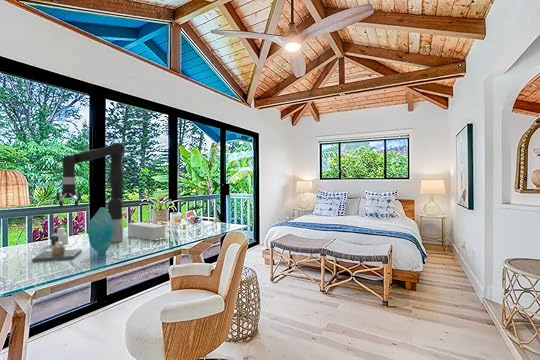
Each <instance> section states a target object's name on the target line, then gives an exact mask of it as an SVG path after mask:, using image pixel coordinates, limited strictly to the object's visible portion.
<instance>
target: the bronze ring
mask: <svg viewBox="0 0 540 360" xmlns="http://www.w3.org/2000/svg"><path fill="white" fill-rule="evenodd" d="M65 250H66V247H65V245H62V247H61V248H55V246H53V247H52V248H51V251H52V255H61V254H64V253H65Z"/></svg>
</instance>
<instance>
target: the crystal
mask: <svg viewBox="0 0 540 360" xmlns="http://www.w3.org/2000/svg"><path fill="white" fill-rule="evenodd" d="M88 224H89V225H88V228H87V235H88V241H89V244H90V246H91V248H93V250H94V251H95V252H96V253H97V254H98V255H99V256H103V255H105V254H106V253H107V251H108V249H109V248H110V246H111V244H112V242H111V241H112V236H113V231H114V229H113V224H112V218H111V215H110V213H109V212H108V208H106V207H99V209H98V210H97V211H96V212H95V214H94V215H93V217H92V218H91V219H90V220H89V223H88Z"/></svg>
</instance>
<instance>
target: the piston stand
mask: <svg viewBox="0 0 540 360" xmlns="http://www.w3.org/2000/svg"><path fill="white" fill-rule="evenodd" d="M62 246H63V245H62V242H56V243H55V245H54V247H55V248H61V247H62ZM81 253H82V248H81V249H79V248H78V249H65V253H64V254H61V255H52V250H49V251H46V250H45V251H43V252H41V253H40V254H38V255H36V256H35V257H33V258H32V260H31V261H32V263H37V262H38V261H42V262H53V260H56V261H66V260H67V261H70V260H71V261H72V260H74V259H76V258H77V257H78V256H79V255H80V254H81Z"/></svg>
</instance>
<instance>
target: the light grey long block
mask: <svg viewBox="0 0 540 360" xmlns="http://www.w3.org/2000/svg"><path fill="white" fill-rule="evenodd" d="M127 237H128V238H129V237H130V238H134V237H137V238H136V239H140V238H143V239H142V240H145V239H149V240H148V241H150V240H156V239H160V238H164V237H165V238H166V225H163V224H158V223H157V224H156V223H151V222H143V221H142V222H141V221H137V222H129V223H127Z"/></svg>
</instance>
